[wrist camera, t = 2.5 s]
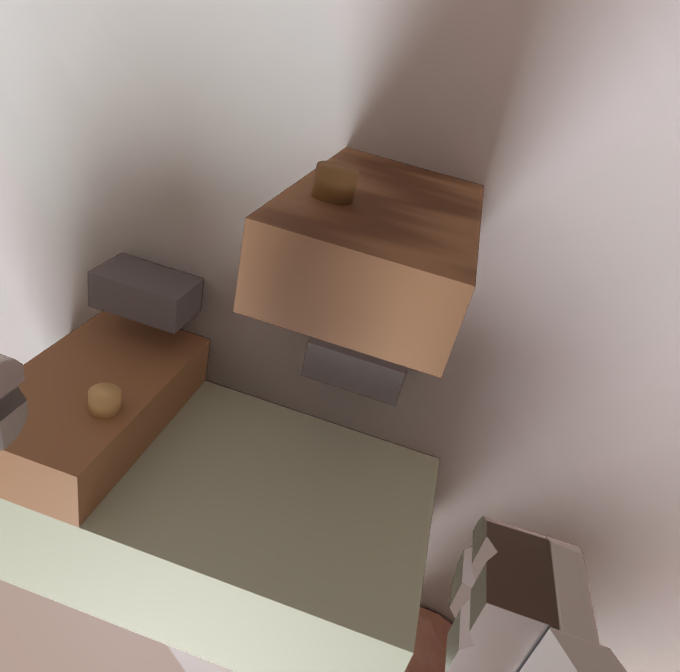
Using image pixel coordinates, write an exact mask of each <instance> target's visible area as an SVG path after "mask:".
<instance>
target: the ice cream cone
mask: <svg viewBox="0 0 680 672" xmlns="http://www.w3.org/2000/svg"><path fill="white" fill-rule="evenodd" d="M451 626H452V624H451V623H450V622H449V621H448V620H446V619H444V618H443V617H442V616H441V615H440V614H437V613H434V612H432V611H430V610H428V609H425V608H422V607H420V609H419V617H418V624H417V631H416V639H415V646H414V653H413V655H412V657H411V659H410V661H409V663H408V665H407V667H406V670H405V672H445V664H446V649H447V634H448V632H449V630H450V628H451Z"/></svg>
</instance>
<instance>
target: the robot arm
mask: <svg viewBox="0 0 680 672" xmlns="http://www.w3.org/2000/svg"><path fill="white" fill-rule="evenodd" d="M24 381H25V375H24V369H23V364H22V363H20V362H19V361H17V360H15V359H13V358H11V357H8V356H5V355H2V354H0V451H2V450H4V449H5V448H6V447H8V446H9V445H10V444H11V443H12V442H13V441H14V440H15V439H16V438H17V437H18V435H19V433H20V432H21V430H22V428H23V427H24V425H25V423H26V419H27V414H28V404H27V399H26V398H25V396H24V395H23V393H22V392H21V390H20V389H19V386H20V385H21V384H22V383H23V382H24ZM449 608H450V610H451V612H452V614H453V615H454V617H455V620H454V622H453V624H452V626H451V628H450V630H449V632H448V634H447V649H446V664H445V672H627V671H626V670H625V668H624V667H623V666H622V664H621V663H620V662H619V660H618V659H617V657H616V656H615V655H614V653H613V652H612V650H611V649H610V648H607V647H605V646H602V645H600V644H599V638H598V633H597V628H596V622H595V617H594V611H593V606H592V601H591V595H590V590H589V584H588V579H587V574H586V568H585V563H584V557H583V552H582V551H581V549H580V548H579V547H578V546H576V545H573V544H569V543H566V542H563V541H560V540H557V539H554V538H551V537H548V536H546V537H545V536H543V535H541V534H538V533H534V532H531V531H528V530H525V529H522V528H519V527H516V526H513V525H510V524H507V523H504V522H501V521H498V520H495V519H492V518H488V517H485V516H483V517H482V518H481V519H480V520H479V521H478V523H477V525H476V527H475V529H474V531H473V545H472V547H469V548H467V549H465V550H464V551H463V553H462V555H461V558H460V560H459V562H458V564H457V568H456V571H455V574H454V578H453V582H452V588H451V595H450V607H449Z"/></svg>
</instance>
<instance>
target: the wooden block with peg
mask: <svg viewBox="0 0 680 672" xmlns="http://www.w3.org/2000/svg"><path fill="white" fill-rule="evenodd" d="M483 191H484V186H483V185H480V184H476V183H472V182H469V181H465V180H462V179H458V178H454V177H451V176H447V175H444V174H440V173H436V172H433V171H429V170H426V169H422V168H419V167H415V166H411V165H408V164H404V163H401V162H397V161H393V160H390V159H386V158H383V157H379V156H375V155H372V154H368V153H365V152H361V151H357V150H354V149H350V148H347V147H346V148H344V149H343V150H342V151H340V152H339V153H337V154H336V155H334V156H333V157H332V158H330V159H329V160H327V161H320V162H318V163H317V166H316V169H315V170H313V171H312V172H310V173H309V174H307V175H306V176H305V177H303V178H302V179H300V180H299V181H297V182H296V183H295V184H293V185H292V186H290V187H289V188H287V189H286V190H285V191H283V192H282V193H280V194H279V195H277V196H276V197H275V198H273V199H272V200H270V201H269V202H267V203H266V204H265V205H263V206H262V207H260V208H259V209H257V210H256V211H255V212H253V213H252V214H250V215H249V216H247V217H246V218H245V225H244V233H243V240H242V248H241V256H240V263H239V271H238V278H237V286H236V294H235V301H234V309H233V312H235V313H239V314H242V315H245V316H248V317H251V318H254V319H257V320H261V321H264V322H267V323H270V324H273V325H276V326H279V327H282V328H286V329H289V330H292V331H295V332H298V333H301V334H304V335H308V336H311V337H314V338H317V339H320V340H323V341H326V342H330V343H333V344H336V345H339V346H342V347H345V348H348V349H352V350H355V351H358V352H361V353H364V354H367V355H370V356H373V357H377V358H380V359H383V360H386V361H389V362H392V363H395V364H399V365H402V366H405V367H408V368H411V369H414V370H417V371H421V372H424V373H427V374H430V375H433V376H436V377H439V378H441V377H442V374H443V372H444V369H445V366H446V364H447V361H448V358H449V356H450V353H451V350H452V348H453V345H454V342H455V339H456V337H457V334H458V331H459V329H460V326H461V323H462V321H463V318H464V315H465V313H466V310H467V307H468V305H469V302H470V299H471V297H472V294H473V291H474V289H475V284H476V273H477V261H478V249H479V238H480V226H481V214H482V203H483Z"/></svg>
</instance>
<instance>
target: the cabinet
mask: <svg viewBox="0 0 680 672" xmlns="http://www.w3.org/2000/svg"><path fill="white" fill-rule="evenodd" d="M203 281H204V279H203V278H199V277H196V276H193V275H190V274H187V273H183V272H180V271H177V270H174V269H171V268H167V267H164V266H161V265H158V264H155V263H152V262H148V261H145V260H142V259H139V258H136V257H132V256H129V255H126V254H123V253H121V254H119V255H117V256H115V257H113V258H112V259H110V260H108V261H106V262H105V263H103V264H101V265H99V266H97V267H96V268H94V269H92V270H90V271H89V272H88V306H91V307H94V308H97V309H100V310H103V311H102V312H100V313H99V314H97V315H96V316H94V317H93V318H91V319H90V320H88V321H87V322H85V323H84V324H83V325H81V326H80V327H78V328H77V329H75V330H74V331H72V332H71V333H69V334H68V335H66V336H65V337H64V338H62V339H61V340H59V341H58V342H56V343H55V344H53V345H52V346H50V347H49V348H47V349H46V350H44V351H43V352H42V353H40V354H39V355H37V356H36V357H34V358H33V359H31V360H30V361H28V362H27V363H25V364H24V365H23V369H24V375H25V381H24V382H23V383H22V384H21V385H20V386H19V389H20V390H21V392H22V393H23V395H24V396H25V398H26V399H27V404H28V414H27V419H26V423H25V425H24V427H23V428H22V430H21V432H20V433H19V435H18V437H17V438H16V439H15V440H14V441H13V442H12V443H11V444H10V445H9V446H8V447H6V448H5V449H4V450H2V451H0V580H3V581H5V582H8V583H10V584H13V585H15V586H18V587H20V588H23V589H26V590H28V591H31V592H33V593H36V594H38V595H41V596H44V597H46V598H48V599H51V600H54V601H56V602H59V603H61V604H64V605H66V606H69V607H71V608H74V609H76V610H79V611H82V612H85V613H87V614H89V615H92V616H95V617H97V618H100V619H102V620H104V621H107V622H110V623H112V624H115V625H117V626H120V627H122V628H125V629H127V630H130V631H133V632H135V633H138V634H140V635H143V636H145V637H148V638H150V639H153V640H156V641H158V642H160V643H163V644H166V645H168V646H171V647H173V648H176V649H178V650H181V651H183V652H186V653H189V654H191V655H194V656H196V657H199V658H201V659H204V660H206V661H209V662H211V663H214V664H217V665H219V666H222V667H224V668H227V669H229V670H232V671H234V672H405V670H406V667H407V665H408V663H409V661H410V659H411V657H412V655H413V653H414V646H415V639H416V631H417V624H418V617H419V609H420V602H421V594H422V587H423V580H424V572H425V565H426V557H427V550H428V543H429V535H430V528H431V520H432V513H433V506H434V498H435V491H436V483H437V476H438V469H439V461H440V459H438V458H435V457H432V456H429V455H426V454H423V453H420V452H417V451H414V450H411V449H408V448H405V447H403V446H400V445H397V444H394V443H391V442H388V441H385V440H382V439H379V438H376V437H373V436H370V435H367V434H364V433H361V432H358V431H355V430H352V429H349V428H346V427H343V426H340V425H337V424H334V423H331V422H328V421H325V420H322V419H319V418H316V417H313V416H310V415H307V414H304V413H301V412H298V411H295V410H292V409H289V408H286V407H283V406H280V405H277V404H274V403H271V402H268V401H265V400H262V399H259V398H256V397H253V396H250V395H247V394H244V393H241V392H238V391H235V390H232V389H229V388H226V387H223V386H220V385H217V384H214V383H211V382H208V381H205V380H206V371H207V362H208V353H209V344H210V339H208V338H205V337H201V336H198V335H195V334H192V333H189V332H186V331H183V330H180V329H181V328H182V327H183V326H184V325H185V324H186V323H187V322H188V321H189V320H190V319H192V318H193V317H194V316H195V315H196V314H197V313H198V312H199V311H200V310H201V302H202V291H203ZM406 371H407V367H405V366H402V365H399V364H395V363H392V362H389V361H386V360H383V359H380V358H377V357H373V356H370V355H367V354H364V353H361V352H358V351H355V350H352V349H348V348H345V347H342V346H339V345H336V344H333V343H330V342H326V341H323V340H320V339H317V338H314V337H311V338H310V340H309V341H308V344H307V348H306V353H305V357H304V362H303V367H302V371H301V375H302V376H305V377H308V378H311V379H314V380H317V381H320V382H323V383H326V384H329V385H332V386H335V387H338V388H341V389H344V390H347V391H350V392H354V393H357V394H360V395H363V396H366V397H369V398H372V399H375V400H378V401H381V402H384V403H387V404H390V405H393V406H395V404H396V401H397V398H398V395H399V392H400V389H401V386H402V383H403V380H404V377H405V374H406Z"/></svg>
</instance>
